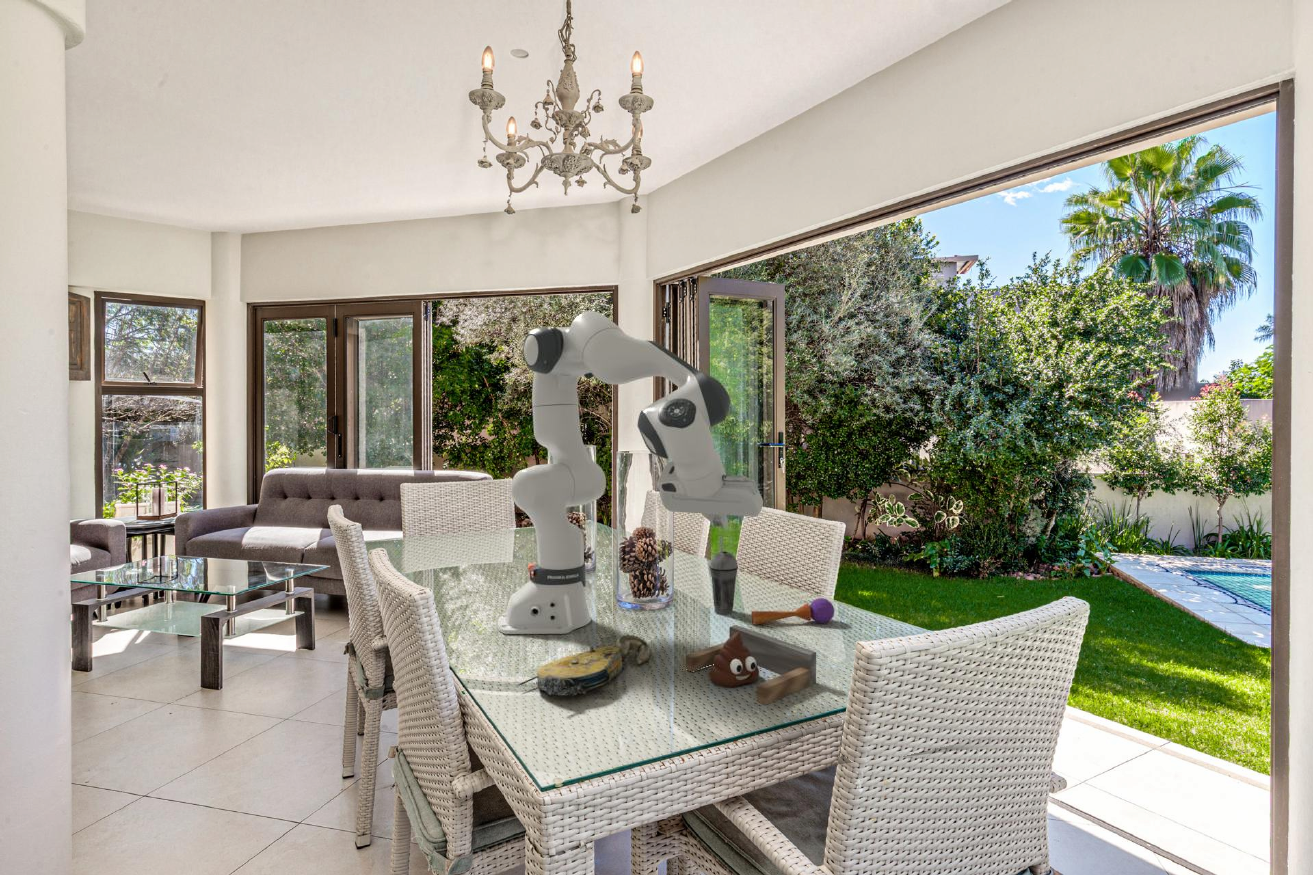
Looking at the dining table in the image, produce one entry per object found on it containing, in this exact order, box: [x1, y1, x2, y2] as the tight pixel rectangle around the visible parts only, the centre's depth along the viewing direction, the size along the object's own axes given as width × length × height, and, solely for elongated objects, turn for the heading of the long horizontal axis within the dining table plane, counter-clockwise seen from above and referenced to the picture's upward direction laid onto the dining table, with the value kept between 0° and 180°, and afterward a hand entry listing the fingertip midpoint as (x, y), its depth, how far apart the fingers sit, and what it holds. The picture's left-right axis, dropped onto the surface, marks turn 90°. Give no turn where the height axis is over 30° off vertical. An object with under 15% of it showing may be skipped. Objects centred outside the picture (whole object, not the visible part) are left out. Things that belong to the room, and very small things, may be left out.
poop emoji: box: [708, 632, 760, 688], centre depth 134 cm, size 10×8×9 cm
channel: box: [685, 624, 817, 706], centre depth 136 cm, size 15×21×6 cm
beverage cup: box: [709, 534, 739, 616], centre depth 176 cm, size 7×7×20 cm
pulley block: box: [516, 634, 652, 697], centre depth 136 cm, size 14×6×30 cm
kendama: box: [750, 597, 835, 626], centre depth 168 cm, size 6×6×20 cm
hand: (720, 524), depth 139 cm, fingers closed
